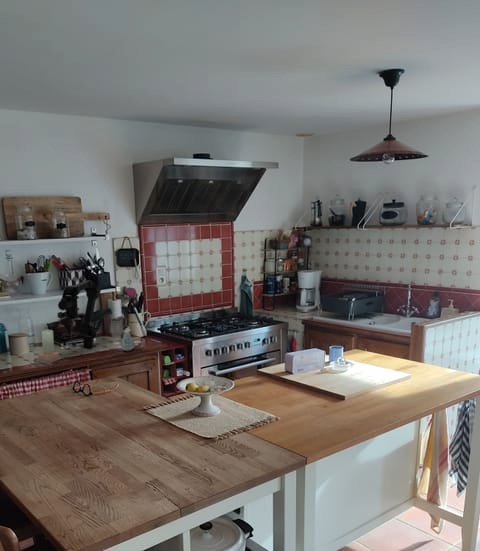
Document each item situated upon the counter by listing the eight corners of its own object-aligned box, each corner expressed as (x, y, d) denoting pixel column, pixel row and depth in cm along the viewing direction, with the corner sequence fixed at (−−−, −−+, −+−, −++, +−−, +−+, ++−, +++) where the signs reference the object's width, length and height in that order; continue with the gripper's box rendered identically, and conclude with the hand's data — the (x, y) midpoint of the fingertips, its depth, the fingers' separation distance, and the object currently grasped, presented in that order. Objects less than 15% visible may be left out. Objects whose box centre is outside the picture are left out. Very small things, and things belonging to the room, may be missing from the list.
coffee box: (120, 340, 327) (119, 316, 324) (128, 340, 325) (127, 316, 322) (112, 343, 318) (111, 319, 316) (121, 344, 316) (120, 319, 314)
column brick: (51, 351, 287) (50, 328, 285) (56, 353, 283) (54, 330, 281) (41, 353, 283) (39, 330, 281) (45, 355, 279) (44, 331, 277)
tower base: (49, 356, 292) (49, 349, 291) (64, 358, 286) (64, 352, 286) (33, 361, 281) (32, 354, 281) (48, 364, 276) (47, 357, 275)
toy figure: (113, 354, 295) (112, 329, 293) (113, 349, 305) (112, 325, 303) (142, 352, 299) (141, 328, 297) (140, 347, 309) (140, 324, 307)
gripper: (68, 303, 302) (70, 328, 304) (50, 309, 284) (52, 336, 286) (85, 304, 300) (86, 329, 302) (68, 310, 282) (69, 337, 284)
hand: (73, 332), depth 294 cm, fingers open, 9 cm apart
